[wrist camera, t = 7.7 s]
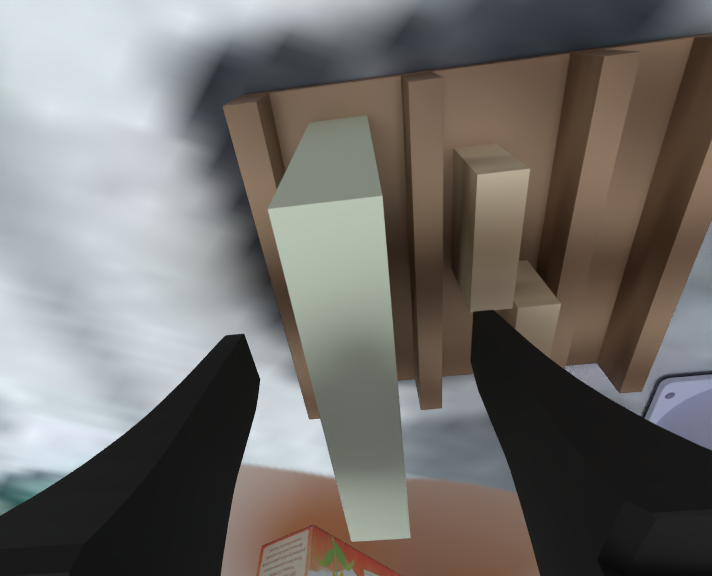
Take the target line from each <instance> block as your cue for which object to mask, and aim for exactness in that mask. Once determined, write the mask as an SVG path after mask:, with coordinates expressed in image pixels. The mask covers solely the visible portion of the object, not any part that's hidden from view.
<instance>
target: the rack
mask: <svg viewBox="0 0 712 576" xmlns="http://www.w3.org/2000/svg"><path fill="white" fill-rule="evenodd" d="M223 109H224V113H225V117H226V120H227V124H228V127H229V131H230V135H231V138H232V142H233V145H234V149H235V153H236V156H237V160H238V164H239V167H240V171H241V174H242V178H243V182H244V185H245V189H246V193H247V196H248V200H249V203H250V207H251V211H252V214H253V218H254V222H255V225H256V229H257V232H258V236H259V240H260V243H261V247H262V250H263V254H264V258H265V261H266V265H267V269H268V272H269V276H270V279H271V283H272V287H273V290H274V294H275V298H276V301H277V305H278V308H279V312H280V316H281V319H282V323H283V326H284V330H285V334H286V337H287V341H288V345H289V348H290V352H291V355H292V359H293V363H294V366H295V370H296V374H297V377H298V381H299V384H300V388H301V392H302V395H303V399H304V402H305V406H306V410H307V413H308V417H309V419H320V415H319V411H318V407H317V403H316V399H315V395H314V391H313V387H312V383H311V379H310V375H309V371H308V367H307V363H306V359H305V355H304V352H303V348H302V344H301V340H300V336H299V332H298V328H297V324H296V320H295V316H294V312H293V308H292V304H291V300H290V296H289V292H288V288H287V284H286V280H285V276H284V272H283V268H282V264H281V260H280V256H279V252H278V248H277V244H276V240H275V236H274V232H273V228H272V224H271V221H270V217H269V213H268V207H269V205H270V203H271V201H272V199H273V197H274V195H275V193H276V191H277V188H278V186H279V184H280V182H281V180H282V178H283V176H284V174H285V172H286V170H287V168H288V166H289V164H290V162H291V160H292V157H293V155H294V153H295V151H296V149H297V147H298V145H299V143H300V141H301V139H302V137H303V135H304V133H305V131H306V128H307V126H308V124H309V122H316V121H324V120H332V119H340V118H348V117H356V116H364V115H367V117H368V123H369V128H370V133H371V138H372V144H373V149H374V154H375V159H376V165H377V170H378V175H379V180H380V186H381V191H382V197H383V209H384V221H385V233H386V246H387V258H388V270H389V282H390V295H391V307H392V319H393V332H394V344H395V356H396V368H397V380H398V381H399V380H410V379H415V381H416V387H417V392H418V397H419V403H420V408H421V410H427V409H439V408H442V377H444V376H455V375H466V374H474V373H473V369H472V365H471V361H470V358H471V341H472V324H473V312H471V313H470V311H469V309H468V307H467V304H466V302H465V300H464V297H463V295H462V293H461V290H460V288H459V285H458V283H457V281H456V278H455V276H454V274H453V271H452V269H451V245H452V193H453V148H457V147H465V146H474V145H482V144H490V143H497V144H498V145H499V146H501V147H502V148H503V149H505V150H506V151H507V152H509V153H510V154H511V155H513V156H514V157H515V158H517V159H518V160H519V161H521V162H522V163H523V164H525V165H526V166H527V167H529V168H530V174H529V182H528V190H527V198H526V205H525V213H524V221H523V229H522V237H521V245H520V253H519V261H523V260H527V261H528V262H529V263H530V264H531V266H532V267H533V268H534V270H535V271H536V272H537V273H538V275H539V276H540V277H541V279H542V280H543V281H544V282H545V284H546V285H547V286H548V288H549V289H550V290H551V291H552V293H553V294H554V295H555V297H556V298H557V299H558V300H559V302H560V303H561V307H560V312H559V317H558V321H557V326H556V331H555V336H554V341H553V345H552V350H551V355H550V359H551V360H553V361H554V362H555V363H557V364H558V365H559V366H561V367H562V368H563V369H565V367H566V366H568V365H579V364H591V363H597V364H598V365H599V367H600V368H601V369H602V371H603V372H604V373H605V375H606V376H607V377H608V379H609V380H610V381H611V383H612V384H613V385H614V387H615V388H616V389H617V391H618V392H619V393H629V392H641V391H642V389H643V387H644V385H645V382H646V380H647V377H648V375H649V372H650V370H651V367H652V365H653V362H654V360H655V357H656V355H657V353H658V350H659V348H660V345H661V343H662V340H663V338H664V335H665V333H666V330H667V328H668V326H669V323H670V321H671V318H672V316H673V313H674V311H675V308H676V306H677V303H678V301H679V299H680V296H681V294H682V291H683V289H684V286H685V284H686V281H687V279H688V276H689V274H690V271H691V269H692V267H693V264H694V262H695V259H696V257H697V254H698V252H699V249H700V247H701V244H702V242H703V240H704V237H705V235H706V232H707V230H708V227H709V225H710V222H711V220H712V33H708V34H701V35H693V36H685V37H678V38H670V39H663V40H655V41H647V42H640V43H632V44H625V45H617V46H609V47H602V48H594V49H587V50H579V51H572V52H564V53H556V54H549V55H541V56H534V57H526V58H518V59H511V60H503V61H496V62H488V63H480V64H473V65H465V66H458V67H450V68H442V69H435V70H427V71H420V72H412V73H404V74H397V75H389V76H382V77H374V78H366V79H359V80H351V81H344V82H336V83H328V84H321V85H313V86H306V87H298V88H290V89H283V90H275V91H268V92H260V93H252V94H245V95H242V96H240V97H238V98H237V99H235V100H233V101H231V102H229V103H227V104H226V105H224V106H223Z"/></svg>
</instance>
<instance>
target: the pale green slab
mask: <svg viewBox="0 0 712 576" xmlns="http://www.w3.org/2000/svg"><path fill="white" fill-rule="evenodd" d="M268 213H269V217H270V221H271V224H272V228H273V232H274V236H275V240H276V244H277V248H278V252H279V256H280V260H281V264H282V268H283V272H284V276H285V280H286V284H287V288H288V292H289V296H290V300H291V304H292V308H293V312H294V316H295V320H296V324H297V328H298V332H299V336H300V340H301V344H302V348H303V352H304V355H305V359H306V363H307V367H308V371H309V375H310V379H311V383H312V387H313V391H314V395H315V399H316V403H317V407H318V411H319V415H320V419H321V423H322V427H323V431H324V435H325V439H326V443H327V447H328V451H329V455H330V459H331V463H332V467H333V471H334V475H335V479H336V482H337V486H338V490H339V494H340V498H341V502H342V506H343V510H344V514H345V518H346V522H347V526H348V530H349V534H350V538H351V541H352V542H355V541H371V540H385V539H401V538H410V528H409V515H408V504H407V491H406V479H405V466H404V454H403V442H402V430H401V417H400V405H399V393H398V380H397V368H396V356H395V344H394V332H393V319H392V307H391V295H390V282H389V270H388V258H387V246H386V233H385V221H384V209H383V197H382V191H381V186H380V180H379V175H378V170H377V165H376V159H375V154H374V149H373V144H372V138H371V133H370V128H369V123H368V117H367V115H364V116H356V117H348V118H340V119H332V120H324V121H316V122H309V124H308V126H307V128H306V131H305V133H304V135H303V137H302V139H301V141H300V143H299V145H298V147H297V149H296V151H295V153H294V155H293V157H292V160H291V162H290V164H289V166H288V168H287V170H286V172H285V174H284V176H283V178H282V180H281V182H280V184H279V186H278V188H277V191H276V193H275V195H274V197H273V199H272V201H271V203H270V205H269V207H268Z"/></svg>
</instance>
